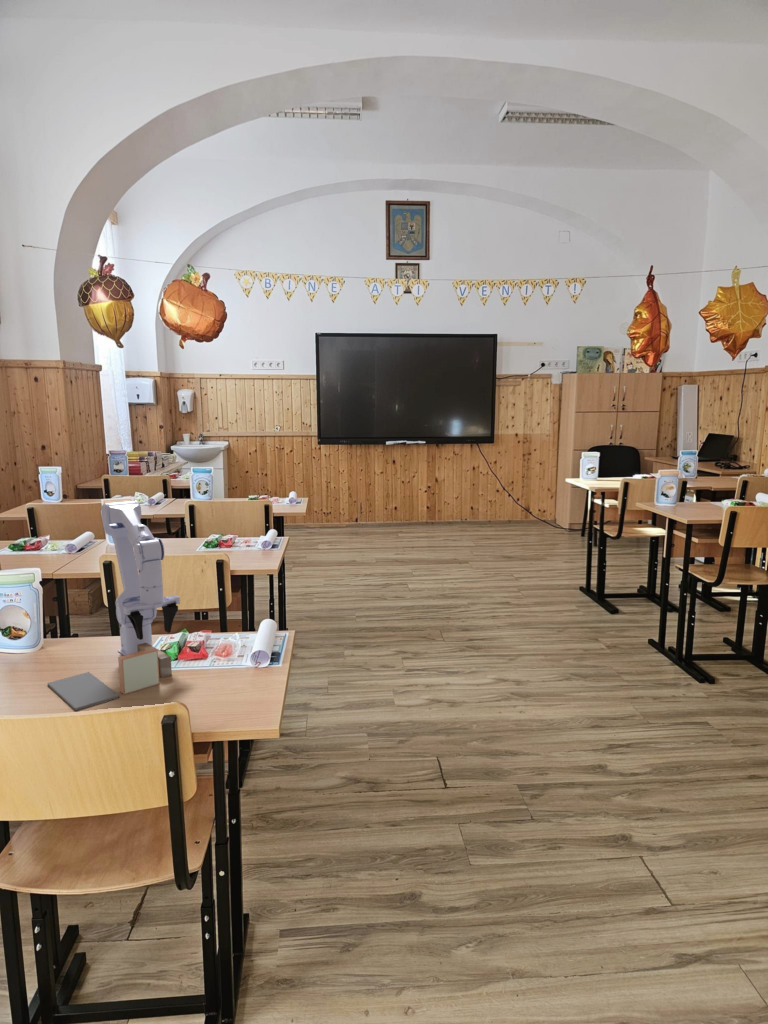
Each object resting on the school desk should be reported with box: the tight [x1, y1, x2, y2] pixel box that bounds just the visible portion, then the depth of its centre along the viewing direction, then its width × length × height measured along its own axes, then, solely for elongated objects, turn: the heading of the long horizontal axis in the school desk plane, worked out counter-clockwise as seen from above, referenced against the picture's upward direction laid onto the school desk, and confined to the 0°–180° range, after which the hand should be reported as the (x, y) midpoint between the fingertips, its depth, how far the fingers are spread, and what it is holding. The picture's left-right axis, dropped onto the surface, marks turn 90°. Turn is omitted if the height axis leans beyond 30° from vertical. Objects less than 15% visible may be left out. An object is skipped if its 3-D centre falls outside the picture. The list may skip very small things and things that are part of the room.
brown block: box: [137, 643, 173, 679], centre depth 172 cm, size 15×3×5 cm, turn 44°
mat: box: [47, 671, 120, 711], centre depth 158 cm, size 20×10×1 cm, turn 44°
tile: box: [117, 647, 161, 695], centre depth 159 cm, size 2×9×9 cm, turn 134°
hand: (154, 635), depth 171 cm, fingers open, 7 cm apart
